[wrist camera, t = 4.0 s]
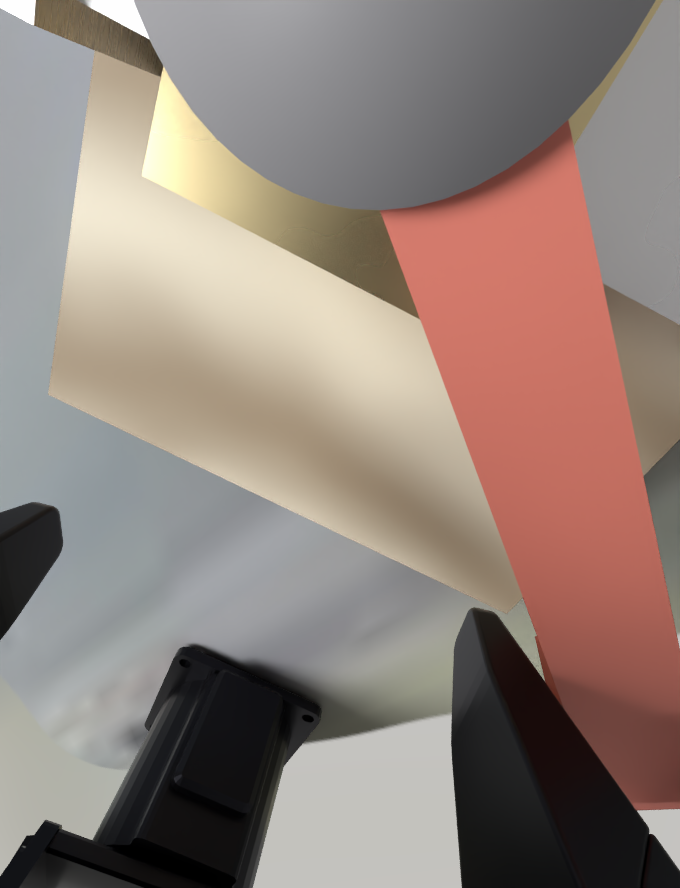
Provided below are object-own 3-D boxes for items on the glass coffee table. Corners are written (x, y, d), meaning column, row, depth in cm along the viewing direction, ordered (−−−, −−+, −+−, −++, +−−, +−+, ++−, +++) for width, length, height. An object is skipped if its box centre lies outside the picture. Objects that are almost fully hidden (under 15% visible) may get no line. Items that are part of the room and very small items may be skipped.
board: (502, 589, 15) (506, 613, 15) (71, 382, 14) (48, 394, 14) (1089, -32, 8) (1174, -60, 7) (226, -581, 7) (195, -698, 6)
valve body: (671, 401, 11) (798, 515, 7) (123, 114, 10) (-63, 69, 6) (930, 122, 8) (1372, 65, 4) (196, -313, 7) (-65, -873, 3)
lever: (732, 682, 9) (816, 820, 7) (511, 705, 10) (530, 828, 8) (553, -476, 4) (686, -1201, 2) (153, -119, 5) (-21, -311, 3)
